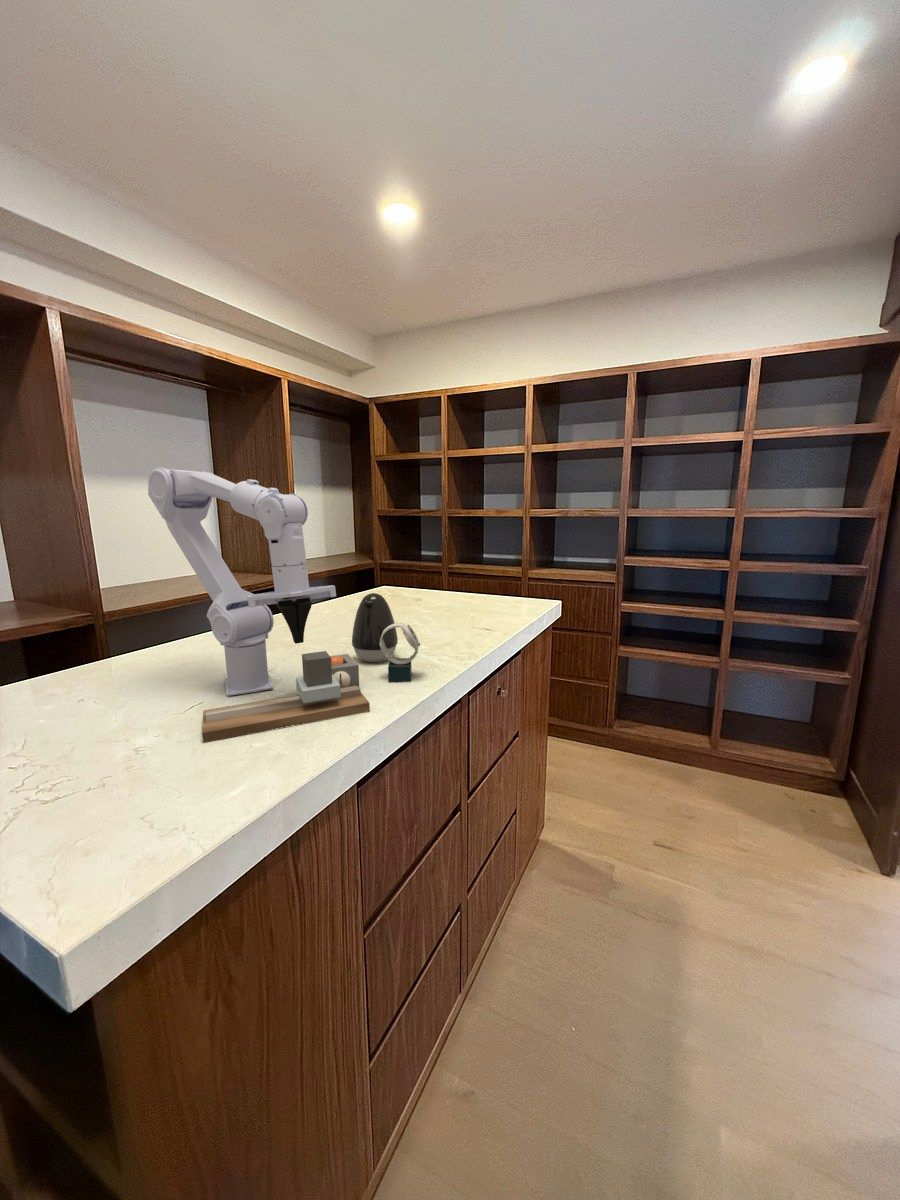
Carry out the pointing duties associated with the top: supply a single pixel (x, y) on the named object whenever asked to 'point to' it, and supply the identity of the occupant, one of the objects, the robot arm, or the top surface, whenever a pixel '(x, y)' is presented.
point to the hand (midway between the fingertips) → (298, 642)
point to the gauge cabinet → (346, 672)
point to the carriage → (317, 678)
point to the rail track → (278, 714)
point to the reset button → (336, 660)
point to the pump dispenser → (373, 629)
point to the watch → (401, 666)
